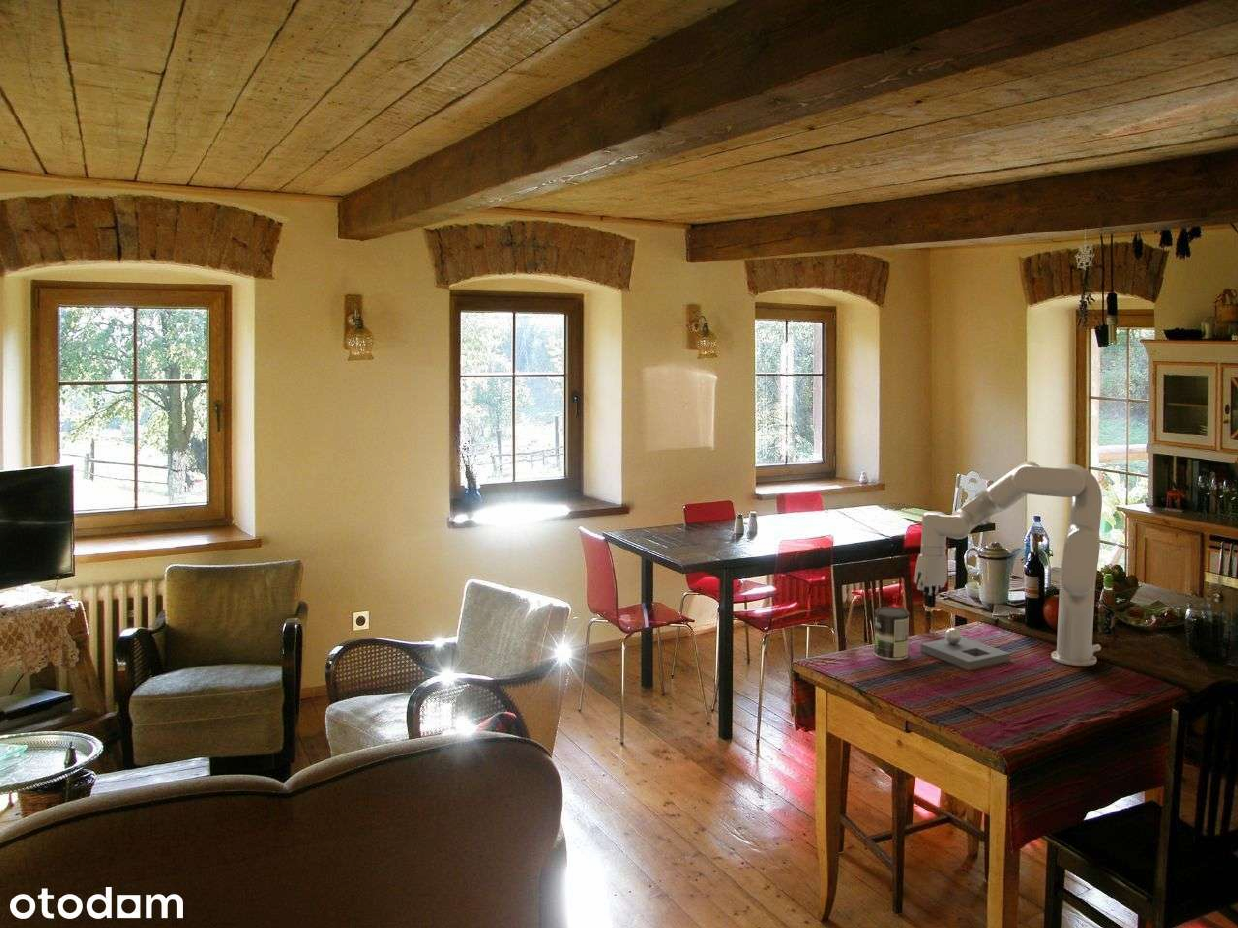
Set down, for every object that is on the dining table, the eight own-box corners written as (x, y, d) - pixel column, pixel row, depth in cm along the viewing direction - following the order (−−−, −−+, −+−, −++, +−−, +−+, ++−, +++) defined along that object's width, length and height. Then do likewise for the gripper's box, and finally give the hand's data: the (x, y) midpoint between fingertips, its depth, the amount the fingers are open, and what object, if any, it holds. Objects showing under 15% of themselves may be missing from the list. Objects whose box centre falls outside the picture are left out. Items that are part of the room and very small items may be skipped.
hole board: (960, 643, 324) (960, 635, 324) (1009, 660, 306) (1010, 653, 306) (920, 651, 316) (920, 643, 316) (968, 670, 299) (968, 661, 298)
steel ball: (952, 640, 319) (953, 625, 318) (964, 644, 314) (965, 629, 314) (940, 642, 316) (941, 627, 316) (952, 647, 312) (953, 631, 311)
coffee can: (876, 660, 309) (877, 615, 307) (872, 649, 319) (873, 606, 317) (910, 661, 307) (911, 616, 305) (905, 650, 317) (907, 607, 316)
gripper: (941, 545, 327) (938, 600, 329) (906, 550, 320) (903, 606, 323) (959, 550, 320) (955, 606, 323) (923, 555, 313) (920, 612, 316)
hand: (929, 606), depth 323 cm, fingers closed
